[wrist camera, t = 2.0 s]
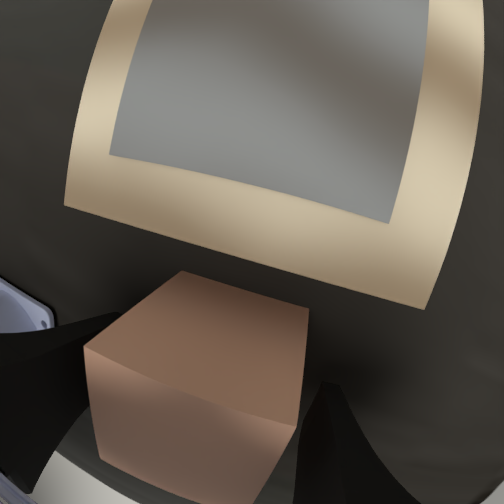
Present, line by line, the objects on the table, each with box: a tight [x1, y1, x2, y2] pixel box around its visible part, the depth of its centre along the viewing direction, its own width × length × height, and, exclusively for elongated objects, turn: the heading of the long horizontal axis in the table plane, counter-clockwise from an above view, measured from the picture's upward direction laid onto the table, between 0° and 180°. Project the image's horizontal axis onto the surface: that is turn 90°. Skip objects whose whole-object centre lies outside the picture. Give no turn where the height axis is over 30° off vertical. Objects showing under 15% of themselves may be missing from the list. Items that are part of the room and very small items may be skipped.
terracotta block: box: [84, 271, 309, 504], centre depth 9 cm, size 5×5×6 cm
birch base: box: [64, 0, 484, 310], centre depth 8 cm, size 12×12×3 cm
